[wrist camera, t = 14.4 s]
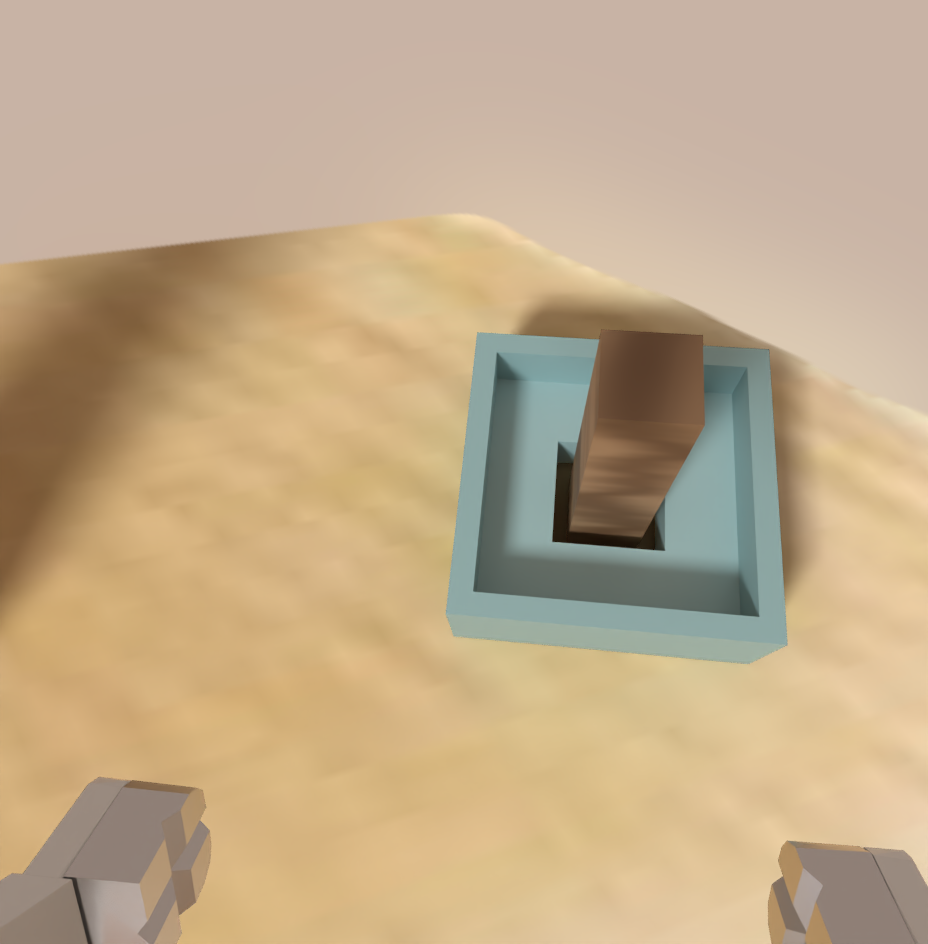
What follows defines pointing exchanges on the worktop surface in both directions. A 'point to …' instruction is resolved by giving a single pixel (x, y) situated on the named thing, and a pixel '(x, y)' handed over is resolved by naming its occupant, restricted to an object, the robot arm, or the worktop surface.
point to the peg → (634, 433)
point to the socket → (614, 568)
